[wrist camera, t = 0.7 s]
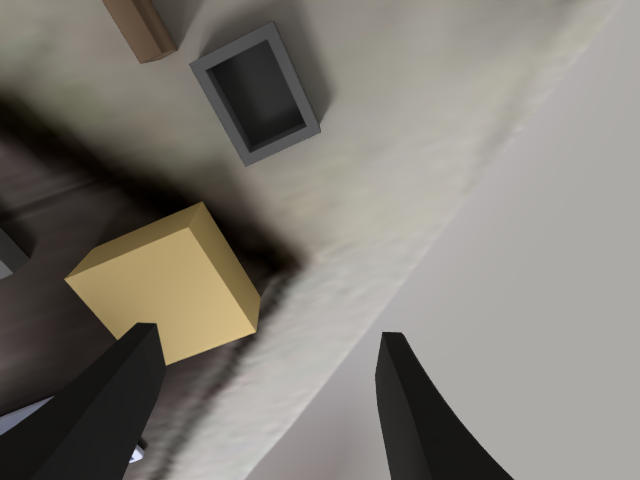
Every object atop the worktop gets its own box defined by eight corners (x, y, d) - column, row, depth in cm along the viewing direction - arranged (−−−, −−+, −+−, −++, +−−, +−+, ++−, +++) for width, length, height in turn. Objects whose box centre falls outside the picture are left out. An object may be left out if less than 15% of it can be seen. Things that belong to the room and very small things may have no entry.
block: (164, 332, 26) (146, 372, 23) (95, 245, 23) (64, 279, 20) (261, 294, 25) (256, 332, 22) (203, 199, 22) (188, 227, 19)
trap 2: (248, 158, 21) (245, 166, 19) (196, 61, 19) (188, 64, 17) (319, 125, 20) (321, 132, 19) (274, 21, 18) (272, 21, 17)
